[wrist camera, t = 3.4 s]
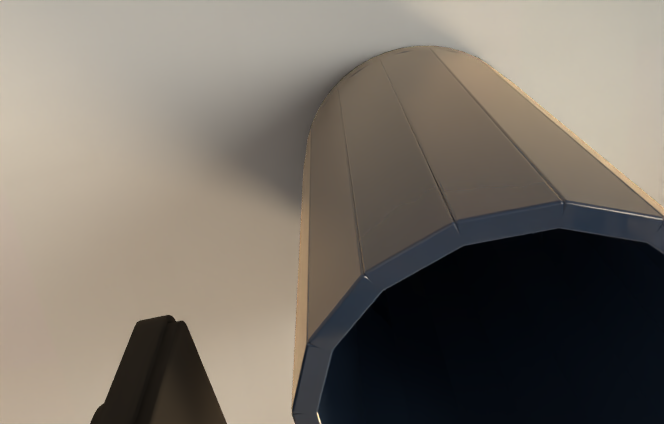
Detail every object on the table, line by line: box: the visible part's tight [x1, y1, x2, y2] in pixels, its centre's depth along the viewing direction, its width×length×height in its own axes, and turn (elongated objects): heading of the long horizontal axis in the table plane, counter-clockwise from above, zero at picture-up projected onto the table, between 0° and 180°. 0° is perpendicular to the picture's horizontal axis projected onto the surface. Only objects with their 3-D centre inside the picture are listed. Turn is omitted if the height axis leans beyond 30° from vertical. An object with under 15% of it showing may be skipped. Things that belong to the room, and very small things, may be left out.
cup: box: [291, 46, 664, 424], centre depth 13 cm, size 7×7×10 cm
